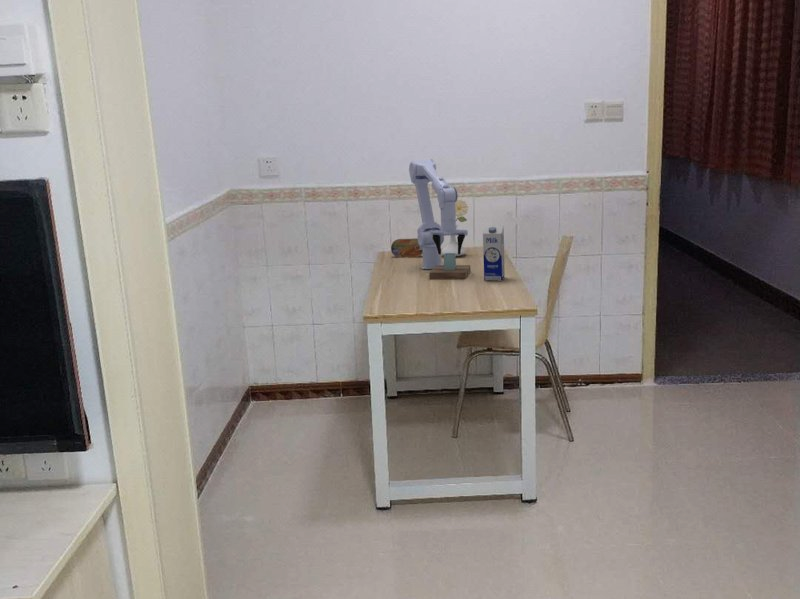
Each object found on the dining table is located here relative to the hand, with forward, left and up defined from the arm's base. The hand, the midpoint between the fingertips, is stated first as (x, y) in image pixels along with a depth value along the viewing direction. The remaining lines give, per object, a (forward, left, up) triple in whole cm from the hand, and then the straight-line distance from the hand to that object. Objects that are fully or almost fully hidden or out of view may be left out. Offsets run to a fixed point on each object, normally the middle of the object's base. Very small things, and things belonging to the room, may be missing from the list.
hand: (449, 253), depth 309 cm
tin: (-39, -25, -9) cm, 47 cm away
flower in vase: (-40, -4, -9) cm, 41 cm away
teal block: (0, 0, -6) cm, 6 cm away
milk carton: (+7, +18, -9) cm, 21 cm away
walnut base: (0, 0, -9) cm, 9 cm away
